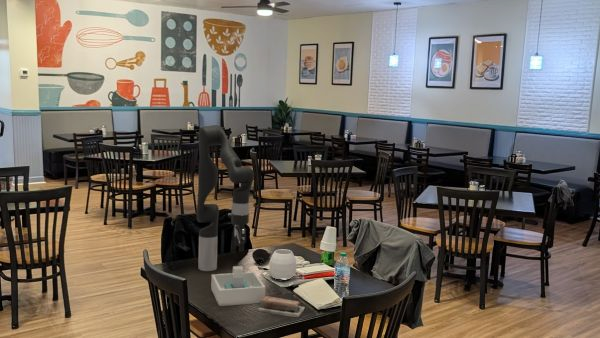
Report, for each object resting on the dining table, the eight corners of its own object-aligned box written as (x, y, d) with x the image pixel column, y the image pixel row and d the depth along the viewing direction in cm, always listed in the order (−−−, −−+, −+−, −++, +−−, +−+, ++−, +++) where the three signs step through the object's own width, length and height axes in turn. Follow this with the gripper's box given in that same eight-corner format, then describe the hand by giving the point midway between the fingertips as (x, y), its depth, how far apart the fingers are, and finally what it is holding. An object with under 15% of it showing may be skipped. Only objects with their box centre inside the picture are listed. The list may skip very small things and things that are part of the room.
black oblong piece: (248, 258, 284) (251, 238, 300) (256, 274, 289) (259, 253, 305) (265, 253, 282) (267, 233, 298) (273, 269, 287) (275, 249, 303)
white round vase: (264, 279, 266) (265, 253, 264) (275, 272, 278) (276, 246, 276) (289, 284, 261) (290, 257, 259) (299, 276, 273) (301, 250, 272)
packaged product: (257, 301, 228) (265, 292, 237) (257, 312, 229) (264, 303, 238) (299, 307, 223) (305, 298, 233) (298, 318, 224) (304, 309, 234)
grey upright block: (232, 292, 245) (232, 266, 244) (240, 291, 247) (241, 265, 245) (233, 295, 242) (234, 269, 240) (242, 294, 243) (243, 268, 241)
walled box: (211, 289, 250) (211, 274, 249) (253, 286, 257) (254, 271, 256) (219, 306, 232) (219, 290, 231) (264, 302, 238) (265, 287, 237)
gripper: (228, 208, 244) (227, 244, 247) (235, 216, 231) (234, 253, 233) (245, 208, 247) (243, 243, 249) (252, 216, 233) (251, 252, 236)
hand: (239, 248), depth 241 cm, fingers open, 8 cm apart
